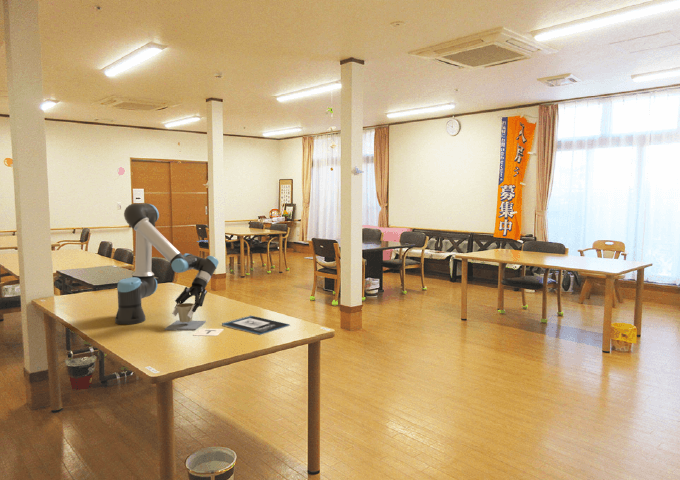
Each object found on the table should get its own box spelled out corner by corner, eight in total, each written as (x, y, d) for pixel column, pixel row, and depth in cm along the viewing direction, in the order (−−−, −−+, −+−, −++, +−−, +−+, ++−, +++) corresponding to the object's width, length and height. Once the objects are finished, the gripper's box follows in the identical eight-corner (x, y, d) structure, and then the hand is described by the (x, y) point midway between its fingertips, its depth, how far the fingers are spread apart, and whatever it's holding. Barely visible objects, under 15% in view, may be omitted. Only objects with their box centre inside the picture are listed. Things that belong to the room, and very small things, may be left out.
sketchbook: (260, 336, 226) (260, 332, 226) (220, 326, 243) (220, 322, 243) (289, 326, 243) (289, 322, 243) (250, 318, 261) (250, 314, 261)
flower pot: (189, 323, 236) (188, 307, 235) (172, 323, 238) (172, 306, 237) (198, 319, 245) (198, 303, 245) (182, 318, 247) (182, 302, 247)
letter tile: (192, 335, 225) (192, 335, 225) (201, 328, 237) (201, 328, 237) (217, 335, 224) (217, 335, 224) (224, 329, 236) (224, 328, 236)
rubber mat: (164, 329, 234) (164, 328, 234) (177, 321, 250) (177, 320, 250) (195, 330, 234) (195, 328, 234) (205, 322, 250) (205, 320, 249)
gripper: (220, 286, 250) (201, 321, 237) (188, 283, 259) (169, 317, 246) (214, 278, 245) (194, 313, 232) (182, 275, 253) (161, 309, 240)
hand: (181, 315), depth 239 cm, fingers closed on flower pot, 9 cm apart
